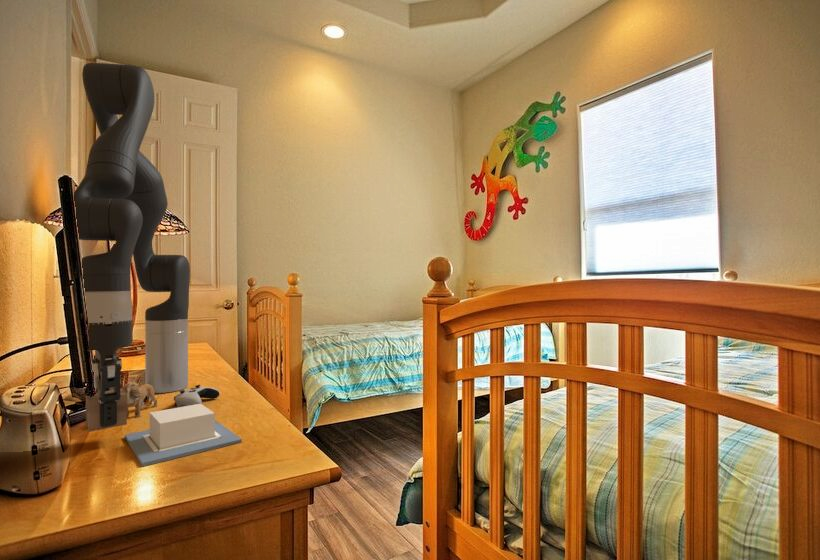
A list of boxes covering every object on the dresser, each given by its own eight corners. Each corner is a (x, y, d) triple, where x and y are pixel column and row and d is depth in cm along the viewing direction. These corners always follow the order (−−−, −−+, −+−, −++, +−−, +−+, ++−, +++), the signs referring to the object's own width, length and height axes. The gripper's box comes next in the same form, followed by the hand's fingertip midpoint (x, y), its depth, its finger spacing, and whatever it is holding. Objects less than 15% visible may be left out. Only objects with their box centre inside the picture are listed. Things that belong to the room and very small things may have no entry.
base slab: (149, 436, 72) (149, 412, 72) (200, 425, 77) (200, 403, 77) (160, 449, 66) (160, 423, 66) (214, 437, 71) (214, 413, 71)
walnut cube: (85, 423, 71) (85, 393, 71) (121, 417, 74) (121, 388, 74) (88, 431, 67) (88, 400, 67) (126, 424, 70) (126, 394, 70)
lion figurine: (139, 421, 81) (139, 383, 82) (114, 423, 80) (114, 385, 81) (161, 405, 93) (160, 371, 93) (138, 406, 92) (138, 372, 92)
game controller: (201, 403, 87) (179, 384, 88) (184, 423, 87) (162, 404, 88) (223, 392, 97) (203, 374, 97) (207, 410, 97) (188, 392, 97)
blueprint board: (124, 437, 73) (124, 433, 73) (211, 419, 82) (211, 416, 82) (142, 466, 61) (142, 462, 61) (241, 442, 70) (241, 438, 70)
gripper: (73, 317, 73) (74, 416, 73) (80, 323, 63) (81, 439, 63) (125, 315, 78) (126, 407, 78) (140, 320, 68) (140, 427, 68)
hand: (106, 421), depth 70 cm, fingers closed on walnut cube, 5 cm apart
